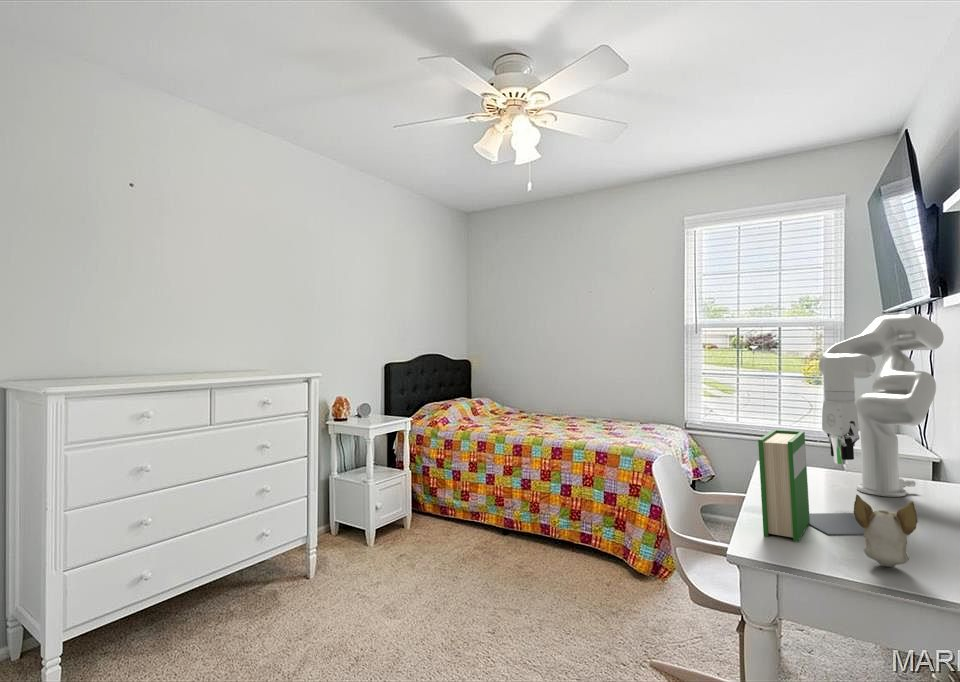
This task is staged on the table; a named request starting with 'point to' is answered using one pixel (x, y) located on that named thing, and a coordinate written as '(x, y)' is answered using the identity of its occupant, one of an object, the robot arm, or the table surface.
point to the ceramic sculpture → (886, 532)
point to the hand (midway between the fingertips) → (842, 457)
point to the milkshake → (838, 449)
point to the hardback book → (784, 483)
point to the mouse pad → (836, 523)
